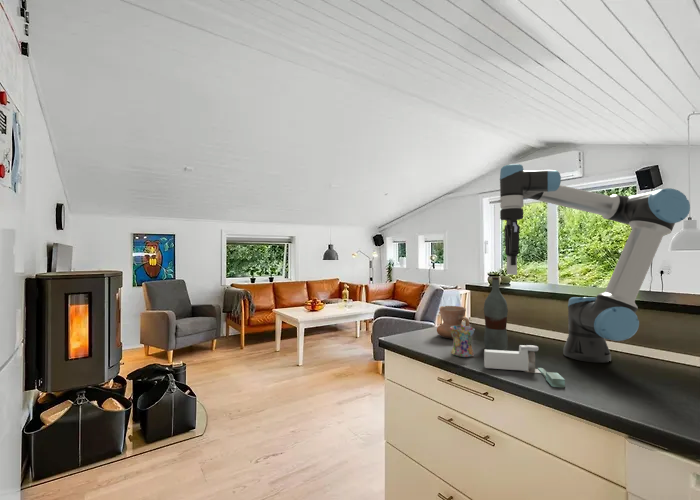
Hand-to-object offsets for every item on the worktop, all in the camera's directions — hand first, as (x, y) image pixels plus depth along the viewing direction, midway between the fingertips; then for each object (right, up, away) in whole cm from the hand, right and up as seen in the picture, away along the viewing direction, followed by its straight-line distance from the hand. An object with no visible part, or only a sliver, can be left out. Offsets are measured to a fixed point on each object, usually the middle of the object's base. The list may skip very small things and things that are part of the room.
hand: (511, 274), depth 125 cm
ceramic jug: (-9, -33, +41) cm, 53 cm away
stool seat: (+1, -32, -6) cm, 33 cm away
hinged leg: (-3, -32, -5) cm, 32 cm away
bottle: (+3, -33, +21) cm, 39 cm away
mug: (-14, -33, +13) cm, 38 cm away
